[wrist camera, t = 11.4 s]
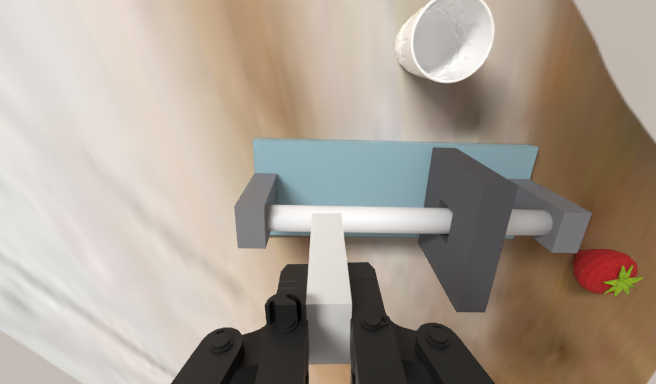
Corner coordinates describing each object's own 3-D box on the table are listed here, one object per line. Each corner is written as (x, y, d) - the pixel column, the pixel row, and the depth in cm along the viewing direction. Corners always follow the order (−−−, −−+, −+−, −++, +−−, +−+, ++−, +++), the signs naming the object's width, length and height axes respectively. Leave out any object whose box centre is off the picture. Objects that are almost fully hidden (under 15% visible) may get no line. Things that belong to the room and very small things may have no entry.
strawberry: (549, 248, 51) (600, 289, 41) (597, 227, 49) (661, 264, 40) (558, 275, 53) (610, 320, 43) (605, 255, 51) (668, 297, 42)
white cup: (461, 62, 40) (503, 61, 31) (402, 89, 41) (426, 96, 32) (442, -4, 38) (482, -27, 28) (380, 27, 39) (399, 15, 29)
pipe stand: (260, 230, 48) (240, 282, 37) (255, 137, 43) (230, 164, 32) (507, 234, 50) (565, 285, 38) (531, 144, 44) (606, 172, 33)
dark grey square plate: (418, 242, 46) (456, 311, 33) (432, 147, 41) (484, 185, 28) (438, 242, 46) (485, 312, 33) (455, 147, 41) (518, 185, 28)
